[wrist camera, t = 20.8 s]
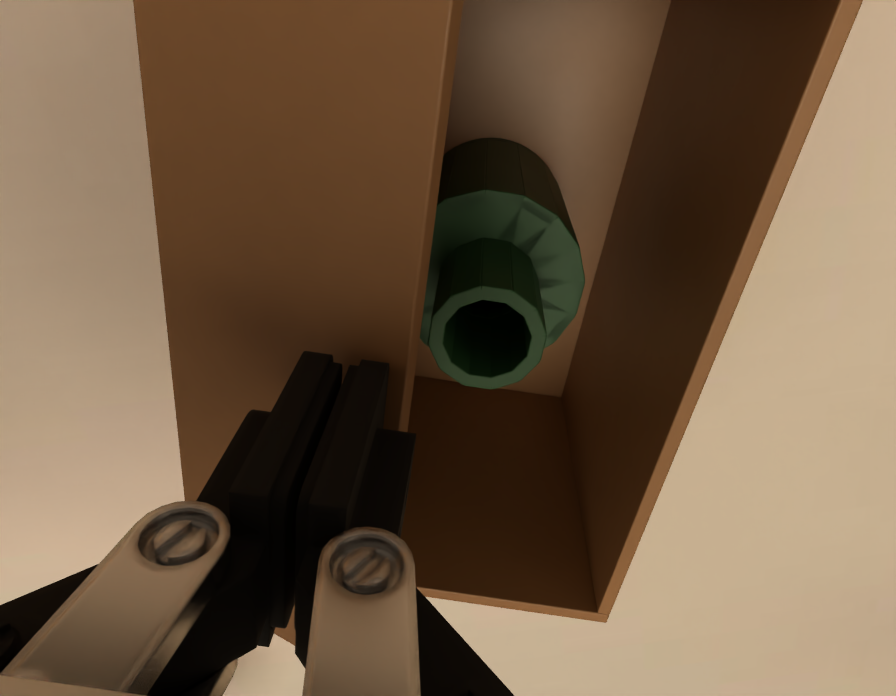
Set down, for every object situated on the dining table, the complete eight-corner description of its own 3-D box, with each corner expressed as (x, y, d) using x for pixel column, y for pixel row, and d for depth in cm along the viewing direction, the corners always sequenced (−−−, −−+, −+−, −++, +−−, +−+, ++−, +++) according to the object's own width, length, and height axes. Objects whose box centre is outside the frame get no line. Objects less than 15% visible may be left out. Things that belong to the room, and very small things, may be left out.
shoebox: (306, 361, 30) (204, 565, 20) (318, -77, 21) (141, -146, 11) (566, 400, 30) (606, 623, 20) (684, -19, 22) (876, -29, 11)
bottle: (411, 265, 27) (367, 414, 17) (427, 126, 24) (385, 214, 15) (543, 284, 27) (571, 444, 18) (575, 149, 24) (629, 252, 15)
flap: (203, 576, 19) (193, 585, 19) (137, -145, 10) (116, -152, 10) (375, 678, 17) (367, 690, 17) (479, -111, 8) (466, -118, 8)
